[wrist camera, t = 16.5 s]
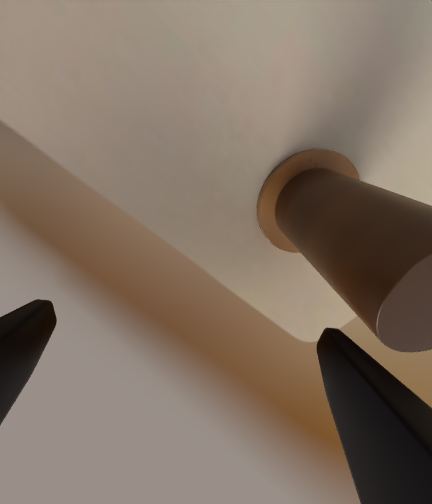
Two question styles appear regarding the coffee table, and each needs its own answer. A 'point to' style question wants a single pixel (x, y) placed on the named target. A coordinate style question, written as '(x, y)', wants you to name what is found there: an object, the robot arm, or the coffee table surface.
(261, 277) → the coffee table surface
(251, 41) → the coffee table surface
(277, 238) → the coaster
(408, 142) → the coffee table surface
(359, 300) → the brown cylinder
